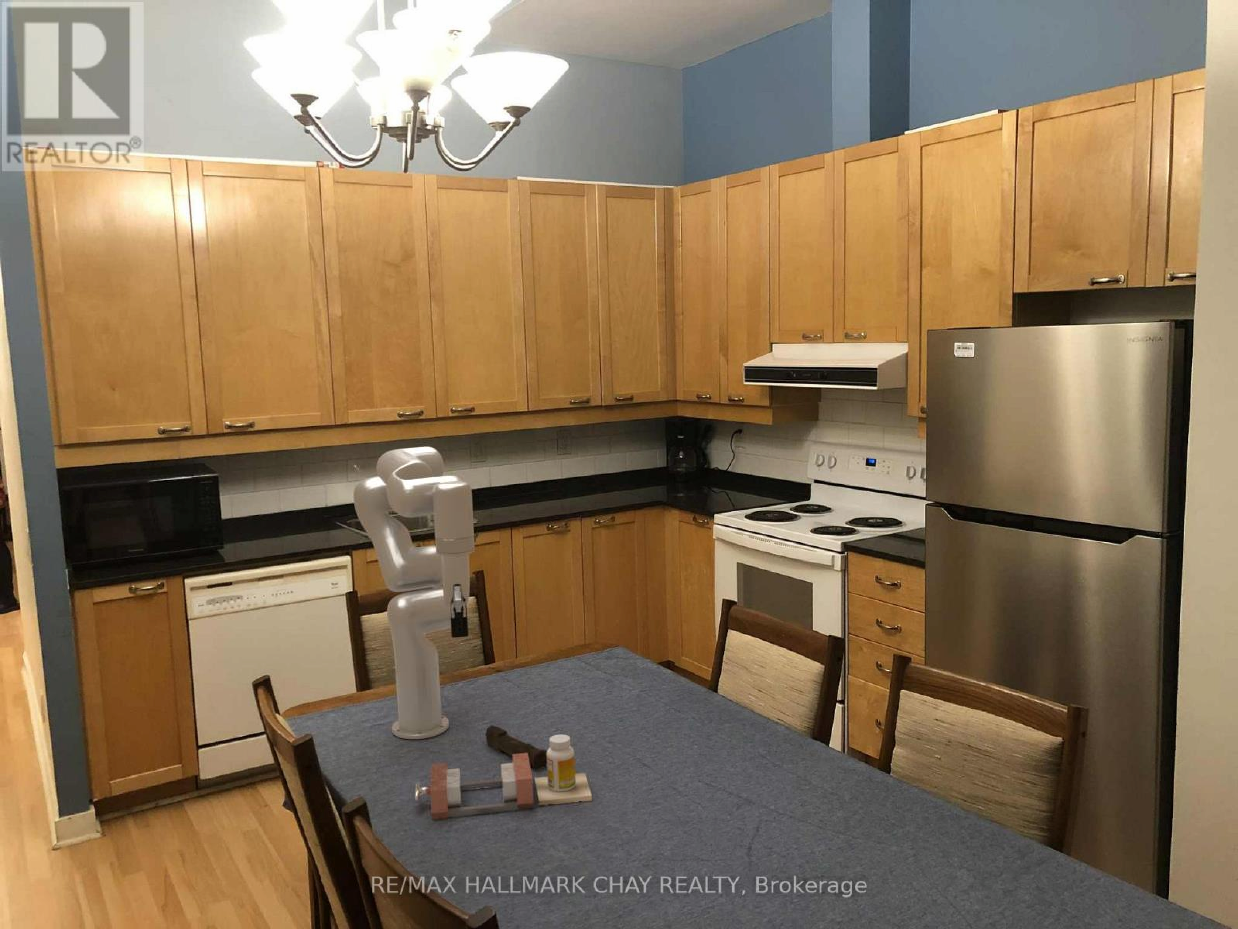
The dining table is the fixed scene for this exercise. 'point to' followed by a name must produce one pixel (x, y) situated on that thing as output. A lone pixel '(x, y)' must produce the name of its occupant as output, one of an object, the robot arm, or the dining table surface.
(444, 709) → the dining table surface
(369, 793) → the dining table surface
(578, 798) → the birch board
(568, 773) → the supplement bottle
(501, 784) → the vise
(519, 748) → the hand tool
